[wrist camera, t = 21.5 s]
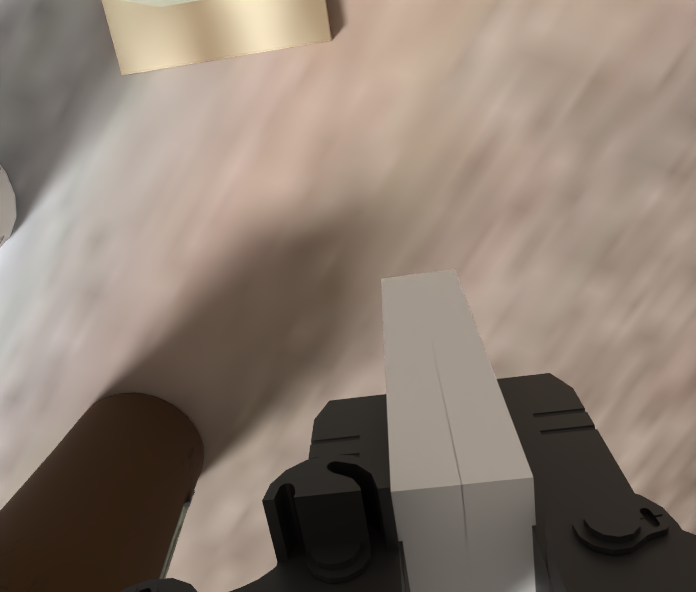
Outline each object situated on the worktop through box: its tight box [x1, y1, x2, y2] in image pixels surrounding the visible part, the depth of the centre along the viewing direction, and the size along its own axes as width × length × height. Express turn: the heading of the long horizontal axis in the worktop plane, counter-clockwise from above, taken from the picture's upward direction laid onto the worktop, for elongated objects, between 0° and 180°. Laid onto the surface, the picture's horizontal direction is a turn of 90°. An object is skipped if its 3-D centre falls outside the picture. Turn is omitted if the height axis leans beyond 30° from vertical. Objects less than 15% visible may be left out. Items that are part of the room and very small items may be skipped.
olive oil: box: [0, 393, 203, 592], centre depth 35 cm, size 11×11×25 cm
